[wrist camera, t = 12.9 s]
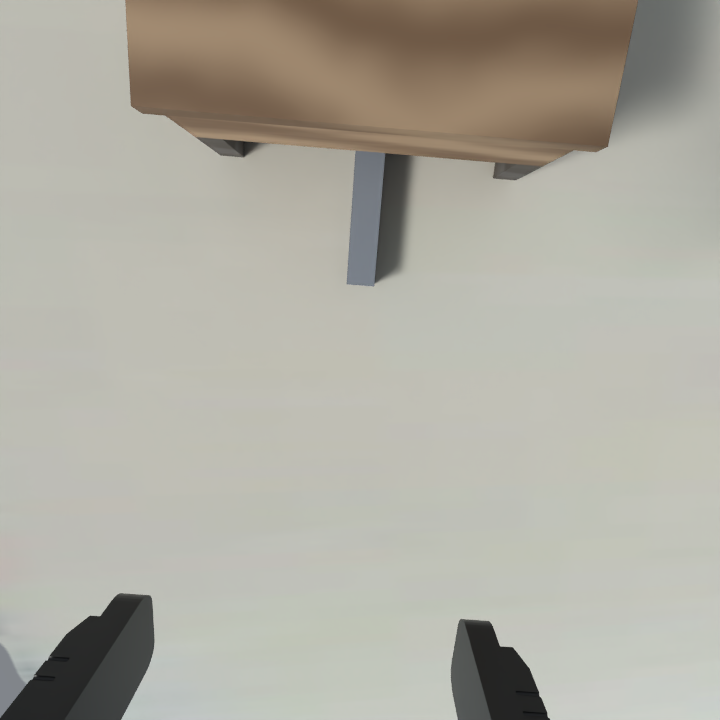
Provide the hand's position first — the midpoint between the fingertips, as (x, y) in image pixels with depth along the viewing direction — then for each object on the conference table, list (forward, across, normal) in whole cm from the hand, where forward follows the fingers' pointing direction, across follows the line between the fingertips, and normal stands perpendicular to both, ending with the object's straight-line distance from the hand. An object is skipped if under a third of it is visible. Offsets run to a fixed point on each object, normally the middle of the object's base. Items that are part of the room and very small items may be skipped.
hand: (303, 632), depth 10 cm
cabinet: (+30, -1, -22) cm, 37 cm away
